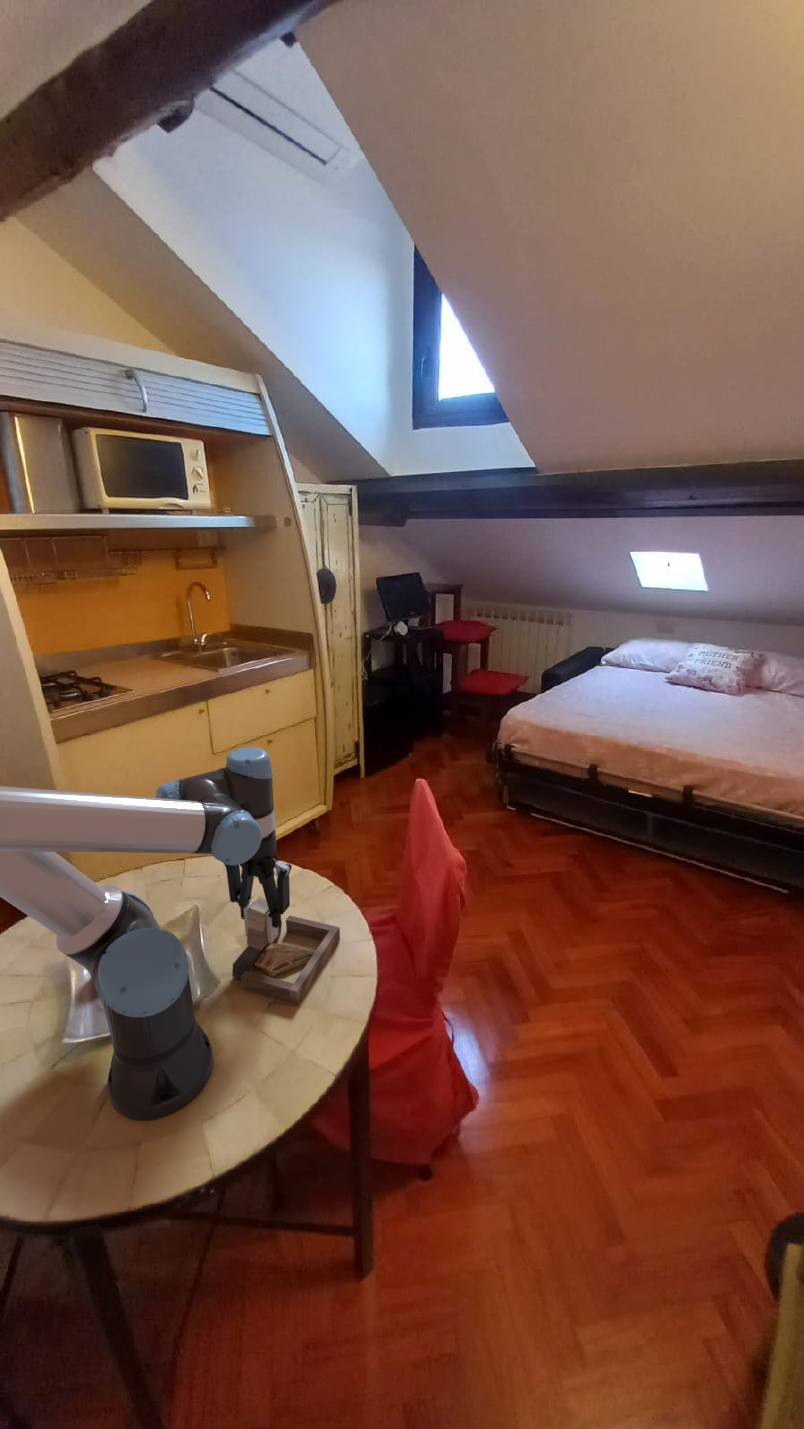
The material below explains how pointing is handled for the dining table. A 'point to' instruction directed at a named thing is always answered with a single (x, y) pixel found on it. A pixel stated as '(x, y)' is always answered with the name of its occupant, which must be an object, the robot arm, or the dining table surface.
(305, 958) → the shard
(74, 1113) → the dining table surface
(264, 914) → the scraper
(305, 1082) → the dining table surface
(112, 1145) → the dining table surface
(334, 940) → the walnut bay
